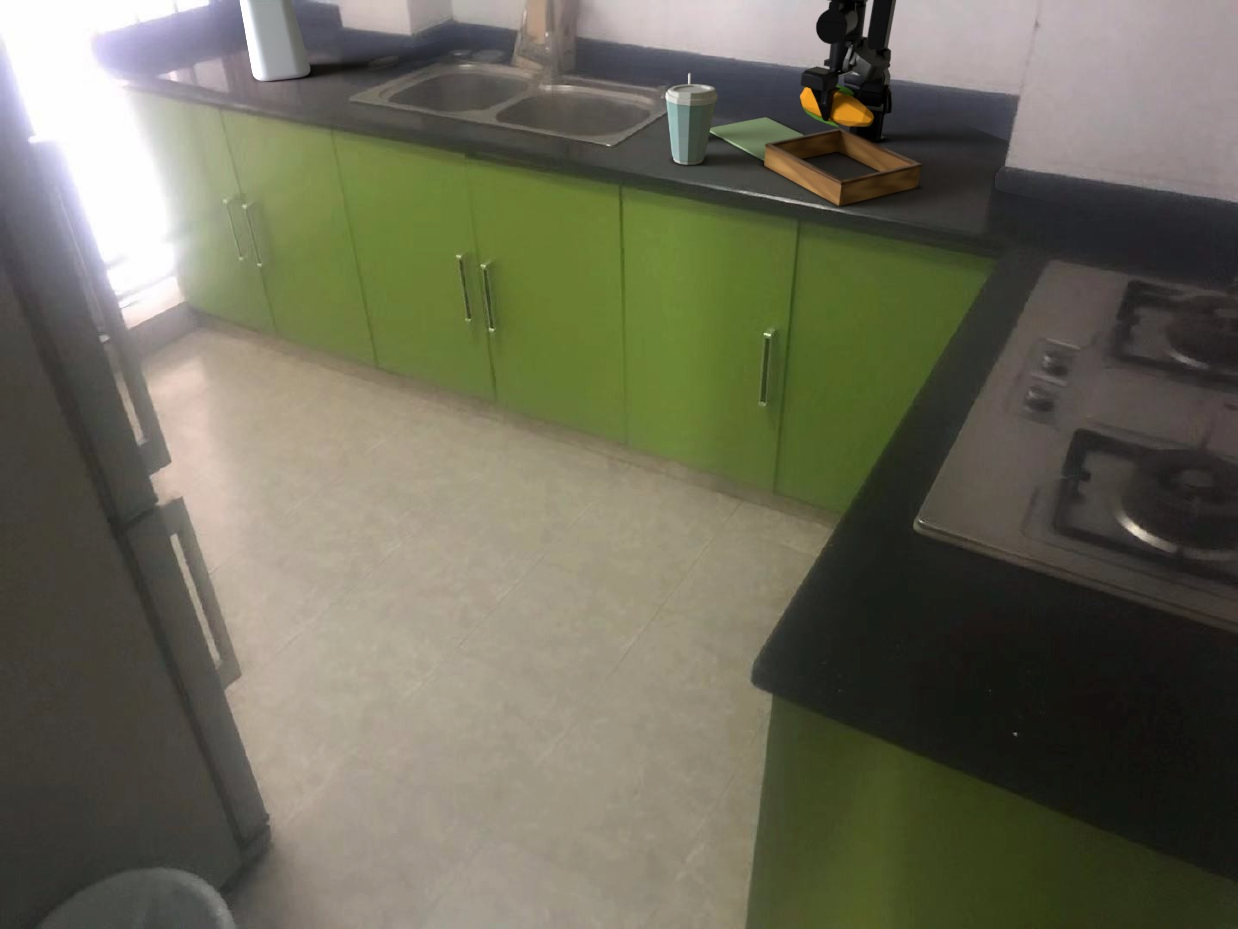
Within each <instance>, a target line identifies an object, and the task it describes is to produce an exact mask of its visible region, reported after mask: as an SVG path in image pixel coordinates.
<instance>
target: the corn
mask: <svg viewBox="0 0 1238 929" xmlns="http://www.w3.org/2000/svg"><path fill="white" fill-rule="evenodd" d="M836 87H840V90H839V91H838V92H836V93H835V94H834V98H833V103H832V109H831V114H830V118H829V121H827V122H826V121H823V119H822V116H821V113H820V110H819V108H818V105H817V102H816V100H815V97H814V95H813V93H812V91H811V89H810V88H807V87H805V86H803V89H802V92H801V94H800V95H799V98H800V101H799V103H800V106H801V108H802V109H803V110H804V112H805V113H806V114H807V115H809V116H810V117H811V118H813V119H815V120H816V121H820V122H822V123H824V124H827V125H829V126H832V127H835V128H837V129H840V128H841V127H840V126H839V125H841V126H847V127H850V126H857V127H868V126H870V125H871V123H872V122H873V119H874V116H873V113H872V112H871V111H870V110H868V109H867V108H866V107H865V106H864V105H863V104H862V103H861V102H860V101H858V100H857V99H855V98H854V96H853V94H854V93H853V92H852V91H851V90H850V89H849V88H846V87H845V86H844V85H842V84H839V83H838V84H837V86H836Z"/></svg>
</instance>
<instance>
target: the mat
mask: <svg viewBox="0 0 1238 929" xmlns="http://www.w3.org/2000/svg"><path fill="white" fill-rule="evenodd" d="M710 133H711V134H713V135H715V136H716V137H718V138H720V139H722V140H724V141H726V142H727V143H729V144H731V145H733V146H735V147H737V148H739V149H741V150H742V151H744V152H746V153H748V154H749V155H751V156H753V157H756V158H757V159H760V160H762V161H763V162H765V148H766V147H765V144H767V143H771V142H776V141H780V140H785V139H790V138H795V137H800V136H805V135H806V134H805V135H804V134H803V133H801V132H798V131H796V130H793V128H790V127H788V126H786V125H783V124H781V123H779V122H777V121H775V120H773V119H771V118H768V117H767V116H764V117H759V118H755V119H754V118H753V119H748V120H744V121H740V122H739V121H738V122H734V123H733V122H732V123H728V124H724V125H718V126H713V127H712V126H711V128H710Z"/></svg>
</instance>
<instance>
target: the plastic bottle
mask: <svg viewBox="0 0 1238 929" xmlns="http://www.w3.org/2000/svg"><path fill="white" fill-rule="evenodd" d="M239 4H240V9H241V14H242V15H241V16H242V20H243V25H244V26H243V27H244V32H245V38H246V43H247V49H248V54H249V62H250V65H251V71H252V76H253V77H254V78H255V79H256V80H257V81H261V82H272V81H283V80H291V79H299V78H303V77H306V76H308V75H309V74H310V73H311V65H310V62H309V58H308V55H307V51H306V48H305V44H304V40H303V37H302V33H301V28H300V26H299V23H298V19H297V18H298V17H297V15H296V10H295V8H294V4H293V0H239Z"/></svg>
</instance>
